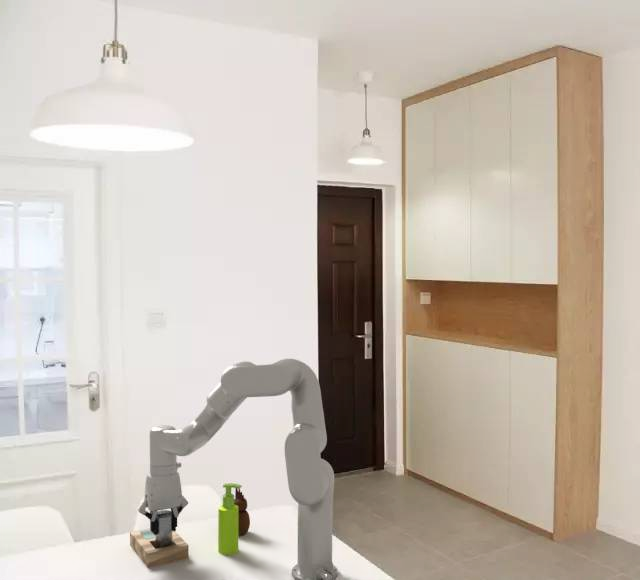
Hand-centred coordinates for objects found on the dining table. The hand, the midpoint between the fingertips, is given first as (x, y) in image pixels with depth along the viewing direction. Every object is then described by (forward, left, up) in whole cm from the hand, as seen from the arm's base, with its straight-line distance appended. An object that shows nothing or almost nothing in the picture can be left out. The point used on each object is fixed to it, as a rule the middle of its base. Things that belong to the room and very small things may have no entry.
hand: (163, 531), depth 200 cm
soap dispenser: (-5, -18, -8) cm, 21 cm away
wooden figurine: (+6, -26, -8) cm, 28 cm away
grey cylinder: (0, 0, -5) cm, 5 cm away
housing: (+5, 0, -8) cm, 9 cm away
